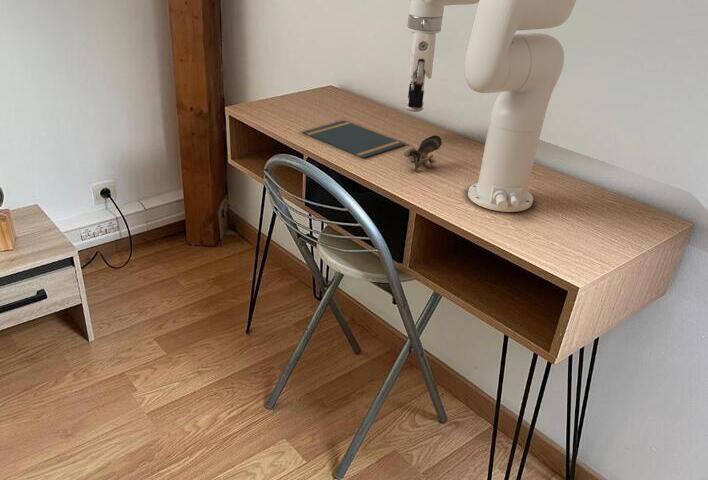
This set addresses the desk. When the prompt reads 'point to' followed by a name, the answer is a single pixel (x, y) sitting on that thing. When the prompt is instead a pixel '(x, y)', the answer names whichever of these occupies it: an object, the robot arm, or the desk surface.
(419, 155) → the brown toy squirrel
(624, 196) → the desk surface
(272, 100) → the desk surface
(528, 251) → the desk surface
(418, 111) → the rook chess piece
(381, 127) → the desk surface
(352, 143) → the placemat
